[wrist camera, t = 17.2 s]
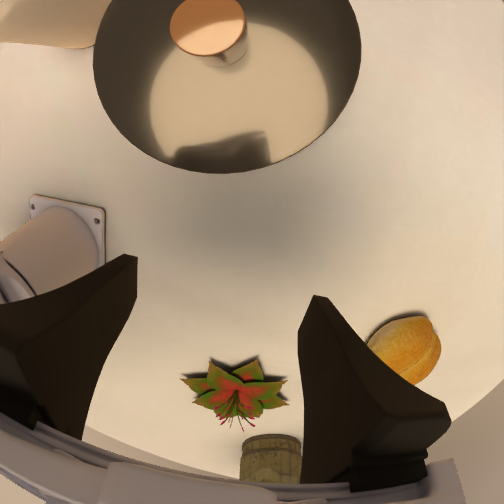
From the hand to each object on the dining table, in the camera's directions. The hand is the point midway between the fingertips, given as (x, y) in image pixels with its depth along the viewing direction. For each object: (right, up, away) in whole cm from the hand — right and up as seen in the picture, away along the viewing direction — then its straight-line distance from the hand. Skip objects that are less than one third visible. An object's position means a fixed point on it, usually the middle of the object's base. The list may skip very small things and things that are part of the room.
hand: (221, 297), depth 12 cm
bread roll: (+16, -8, +16) cm, 24 cm away
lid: (0, +11, -1) cm, 11 cm away
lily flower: (0, -13, +19) cm, 23 cm away
